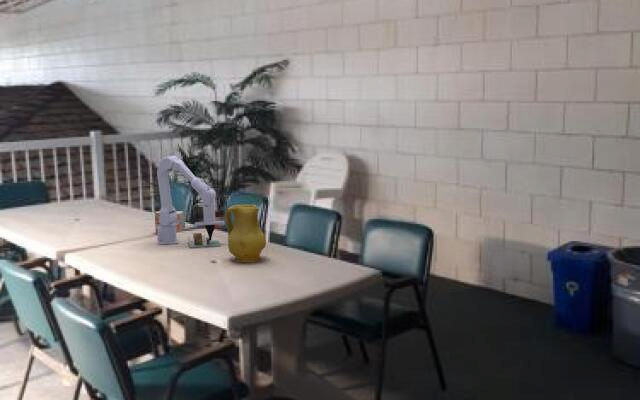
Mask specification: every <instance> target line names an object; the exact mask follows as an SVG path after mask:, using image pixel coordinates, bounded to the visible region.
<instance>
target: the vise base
mask: <svg viewBox="0 0 640 400" xmlns="http://www.w3.org/2000/svg"><path fill="white" fill-rule="evenodd" d="M187 244H188V248H189V249H203V248H217V247H218V248H220V247H221V244H220V242H219V240H218V239H214V240H212V239H211V240H210V243H207V246H203V245H194V238H193V235H191V236H188V242H187Z"/></svg>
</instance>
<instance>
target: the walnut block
mask: <svg viewBox="0 0 640 400" xmlns="http://www.w3.org/2000/svg"><path fill="white" fill-rule="evenodd" d="M192 236H193V238H194V245H202V236H203V234H202V233H201V232H195V233H193V234H192Z"/></svg>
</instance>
